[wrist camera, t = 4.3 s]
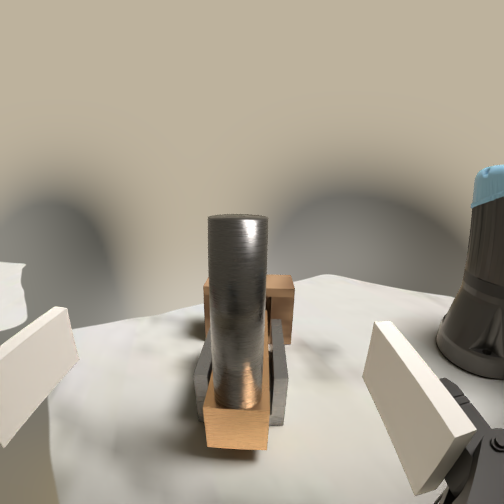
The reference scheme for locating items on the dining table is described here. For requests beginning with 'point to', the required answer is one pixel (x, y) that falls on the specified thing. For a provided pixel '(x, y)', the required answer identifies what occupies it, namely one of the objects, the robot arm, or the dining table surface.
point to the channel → (276, 374)
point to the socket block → (269, 303)
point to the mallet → (238, 333)
